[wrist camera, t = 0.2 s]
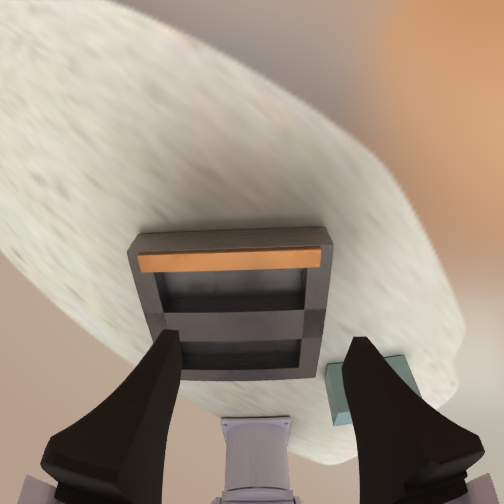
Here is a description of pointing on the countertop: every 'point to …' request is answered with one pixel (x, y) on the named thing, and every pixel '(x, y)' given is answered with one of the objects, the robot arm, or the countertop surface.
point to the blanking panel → (338, 394)
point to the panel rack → (237, 299)
